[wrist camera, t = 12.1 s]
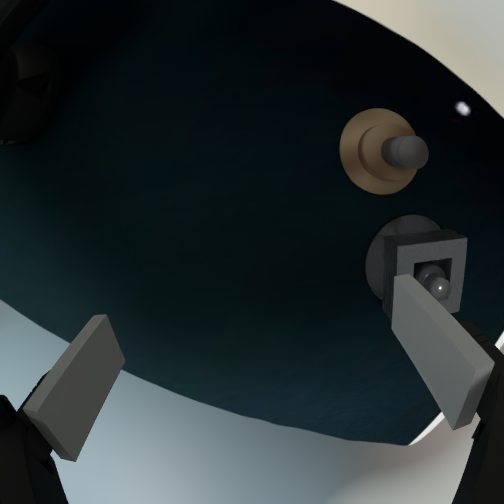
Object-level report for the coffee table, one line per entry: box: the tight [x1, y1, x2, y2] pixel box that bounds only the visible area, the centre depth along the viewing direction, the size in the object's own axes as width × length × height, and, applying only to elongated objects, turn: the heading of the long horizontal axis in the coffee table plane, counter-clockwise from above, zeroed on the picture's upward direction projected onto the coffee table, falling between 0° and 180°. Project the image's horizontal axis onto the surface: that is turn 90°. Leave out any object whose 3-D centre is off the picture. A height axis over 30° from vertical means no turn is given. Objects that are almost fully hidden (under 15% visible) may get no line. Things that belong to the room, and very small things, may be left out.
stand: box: [339, 108, 429, 195], centre depth 29 cm, size 10×10×9 cm
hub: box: [364, 214, 452, 301], centre depth 32 cm, size 12×12×10 cm
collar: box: [382, 229, 467, 322], centre depth 32 cm, size 9×9×4 cm
